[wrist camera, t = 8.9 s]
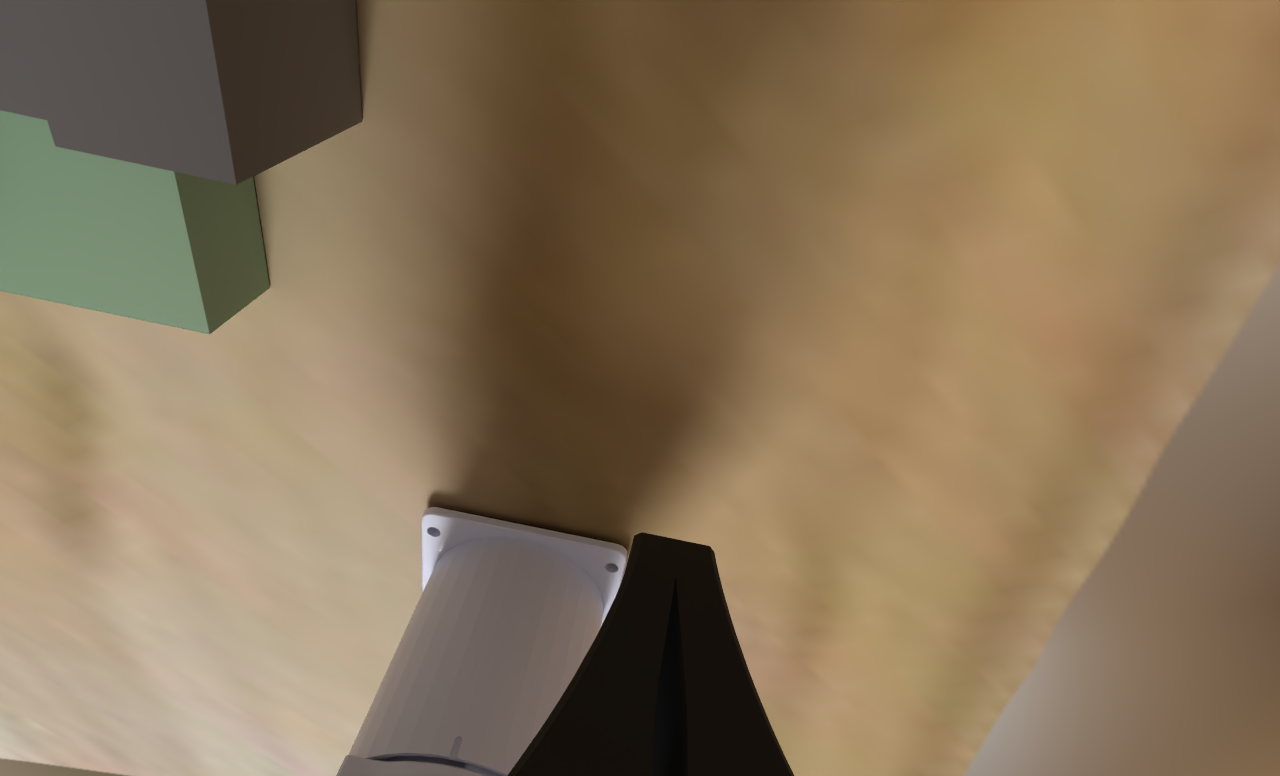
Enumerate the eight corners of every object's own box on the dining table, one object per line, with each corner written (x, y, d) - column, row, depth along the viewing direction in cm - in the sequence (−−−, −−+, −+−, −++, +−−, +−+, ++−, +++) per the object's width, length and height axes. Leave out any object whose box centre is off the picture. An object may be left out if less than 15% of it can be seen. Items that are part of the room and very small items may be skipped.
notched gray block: (362, 121, 18) (236, 184, 13) (102, 65, 18) (-118, 109, 13) (351, -82, 15) (190, -92, 11) (47, -149, 15) (-251, -189, 10)
